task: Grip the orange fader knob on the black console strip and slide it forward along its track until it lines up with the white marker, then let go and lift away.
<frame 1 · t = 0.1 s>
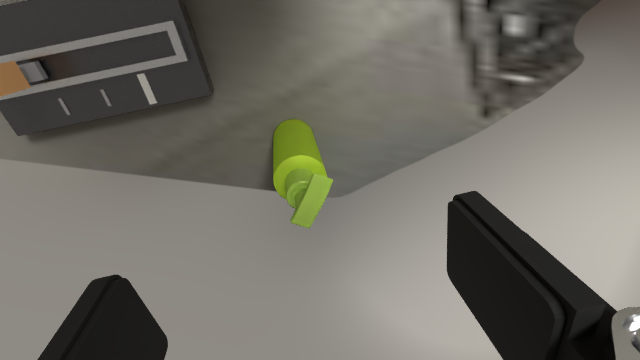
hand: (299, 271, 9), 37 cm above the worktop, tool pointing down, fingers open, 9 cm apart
fader knob: (5, 78, 32), point 6 cm above the worktop, slide at -6.5 cm
soap dispenser: (294, 134, 46), on the worktop
console: (97, 57, 38), on the worktop
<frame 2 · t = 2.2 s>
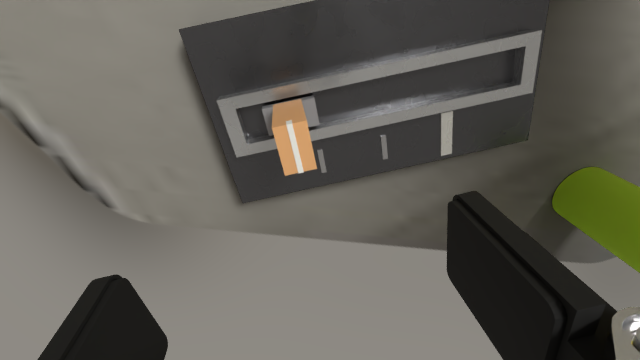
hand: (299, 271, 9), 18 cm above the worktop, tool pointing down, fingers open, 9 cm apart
fader knob: (292, 129, 19), point 6 cm above the worktop, slide at -6.5 cm
soap dispenser: (581, 187, 33), on the worktop
console: (370, 85, 25), on the worktop
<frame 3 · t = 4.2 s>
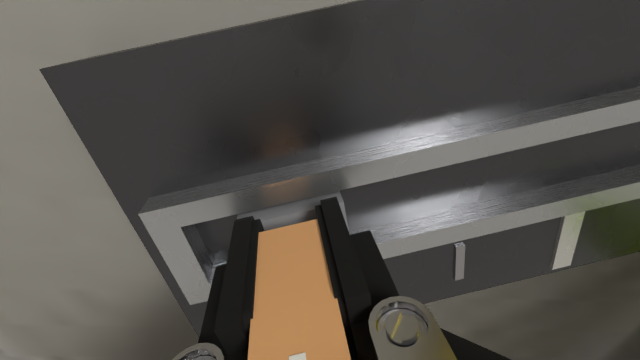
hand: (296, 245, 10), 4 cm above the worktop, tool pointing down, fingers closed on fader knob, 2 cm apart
fader knob: (301, 293, 8), point 6 cm above the worktop, slide at -6.5 cm, touching gripper
console: (432, 152, 14), on the worktop
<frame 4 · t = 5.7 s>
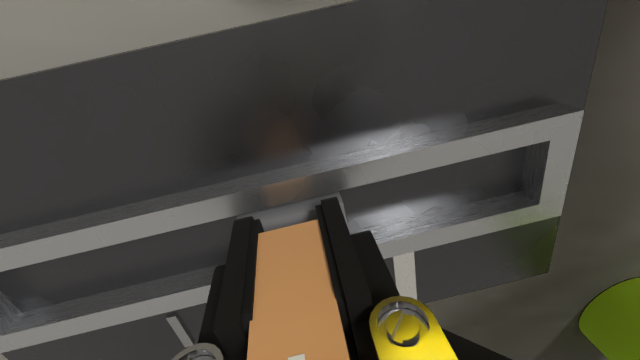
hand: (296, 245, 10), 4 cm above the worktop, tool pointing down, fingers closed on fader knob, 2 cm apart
fader knob: (301, 293, 8), point 6 cm above the worktop, slide at 1.0 cm, touching gripper
soap dispenser: (622, 300, 22), on the worktop
console: (267, 191, 14), on the worktop
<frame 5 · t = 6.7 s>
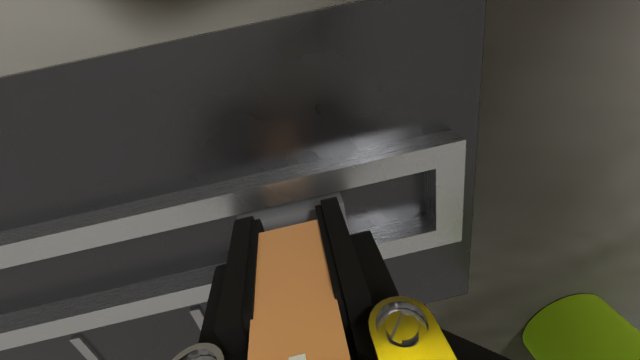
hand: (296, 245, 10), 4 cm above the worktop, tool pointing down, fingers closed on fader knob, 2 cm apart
fader knob: (301, 293, 8), point 6 cm above the worktop, slide at 5.0 cm, touching gripper
soap dispenser: (565, 316, 22), on the worktop
console: (179, 211, 14), on the worktop
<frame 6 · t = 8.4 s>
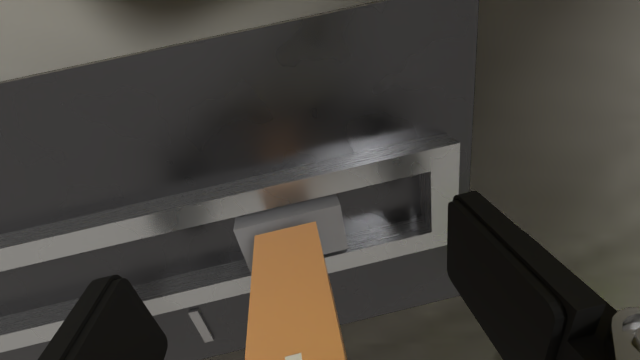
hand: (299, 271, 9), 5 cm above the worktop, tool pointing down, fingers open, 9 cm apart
fader knob: (298, 294, 9), point 6 cm above the worktop, slide at 5.0 cm
console: (177, 213, 14), on the worktop
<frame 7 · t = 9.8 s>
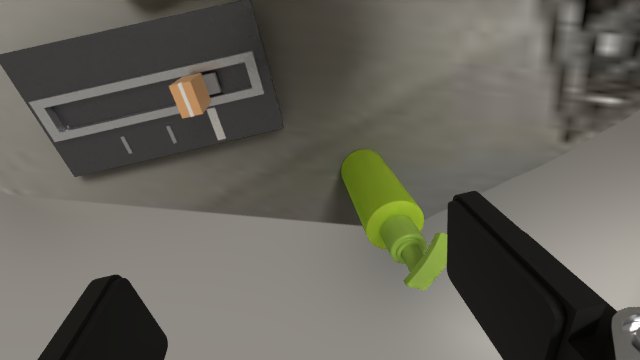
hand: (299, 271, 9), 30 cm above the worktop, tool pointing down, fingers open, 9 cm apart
fader knob: (194, 92, 29), point 6 cm above the worktop, slide at 5.0 cm
soap dispenser: (363, 165, 42), on the worktop
console: (162, 90, 34), on the worktop
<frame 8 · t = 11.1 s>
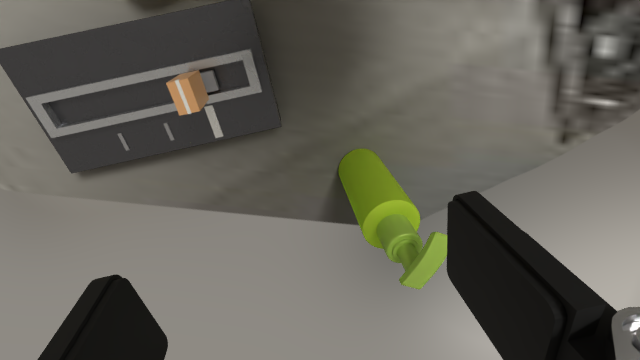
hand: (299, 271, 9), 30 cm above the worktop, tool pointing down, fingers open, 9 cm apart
fader knob: (192, 89, 29), point 6 cm above the worktop, slide at 5.0 cm
soap dispenser: (361, 164, 42), on the worktop
console: (159, 87, 34), on the worktop
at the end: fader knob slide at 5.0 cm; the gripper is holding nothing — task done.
